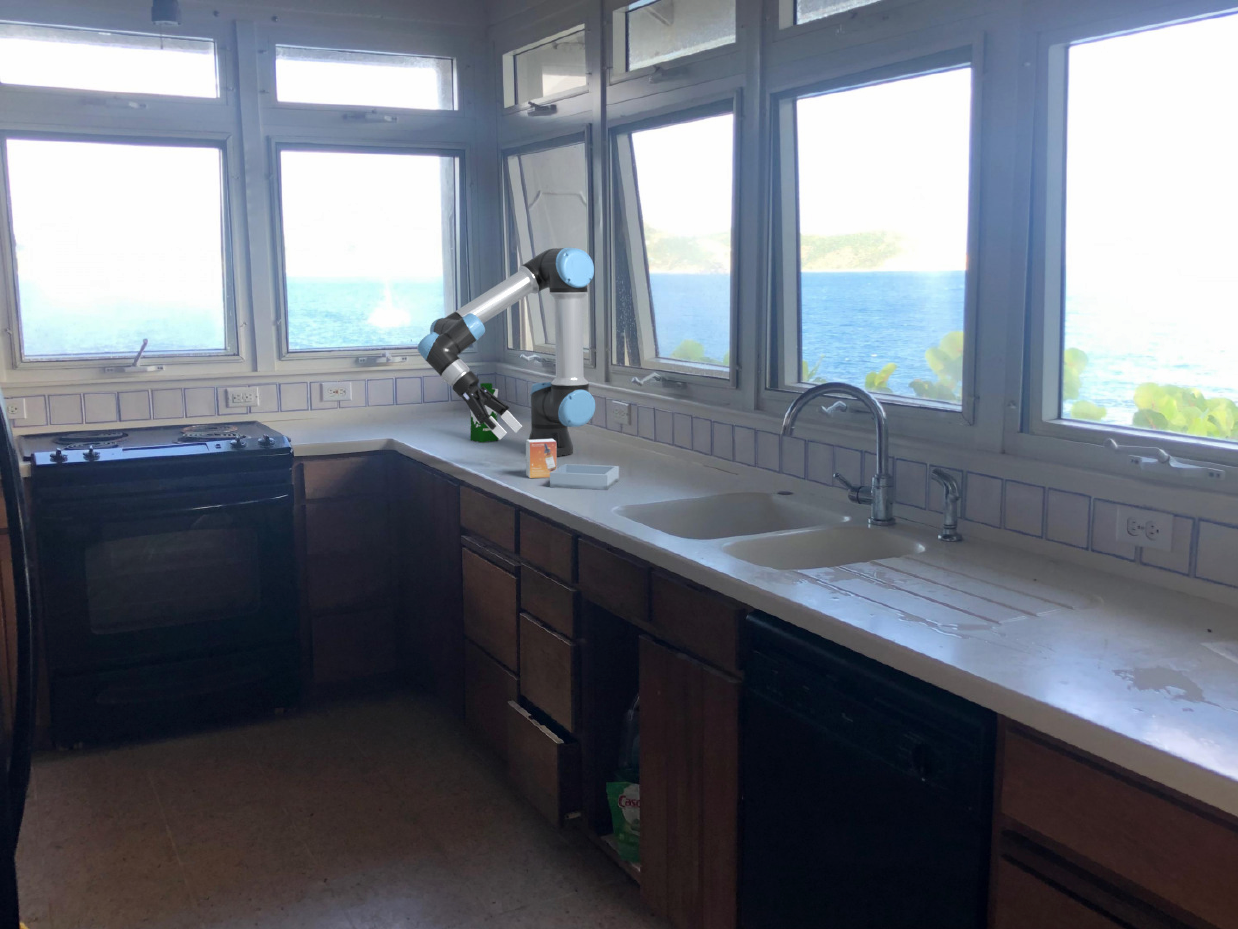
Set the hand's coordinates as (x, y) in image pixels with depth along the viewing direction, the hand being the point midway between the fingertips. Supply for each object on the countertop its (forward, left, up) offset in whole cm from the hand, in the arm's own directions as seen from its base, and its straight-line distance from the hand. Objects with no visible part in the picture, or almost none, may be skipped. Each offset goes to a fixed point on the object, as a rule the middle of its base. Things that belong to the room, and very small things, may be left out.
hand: (511, 433), depth 308 cm
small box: (-1, +8, -13) cm, 15 cm away
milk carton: (-61, -31, -13) cm, 69 cm away
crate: (+7, +23, -12) cm, 27 cm away
